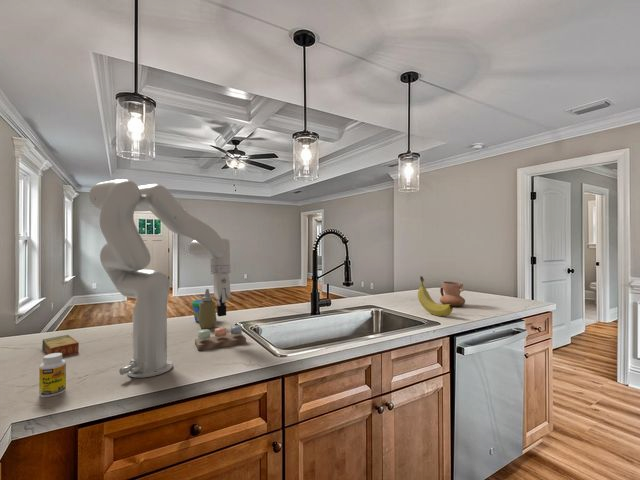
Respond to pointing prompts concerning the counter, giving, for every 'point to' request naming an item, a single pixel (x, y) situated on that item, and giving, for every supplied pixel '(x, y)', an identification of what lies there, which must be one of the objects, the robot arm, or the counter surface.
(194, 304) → the snack cup
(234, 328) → the button slate
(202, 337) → the button sage
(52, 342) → the carton
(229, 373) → the counter surface
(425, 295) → the banana
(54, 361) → the supplement bottle
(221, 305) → the robot arm
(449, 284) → the ceramic jug
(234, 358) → the counter surface
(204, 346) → the button board
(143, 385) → the counter surface
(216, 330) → the button terracotta
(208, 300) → the squeeze bottle
